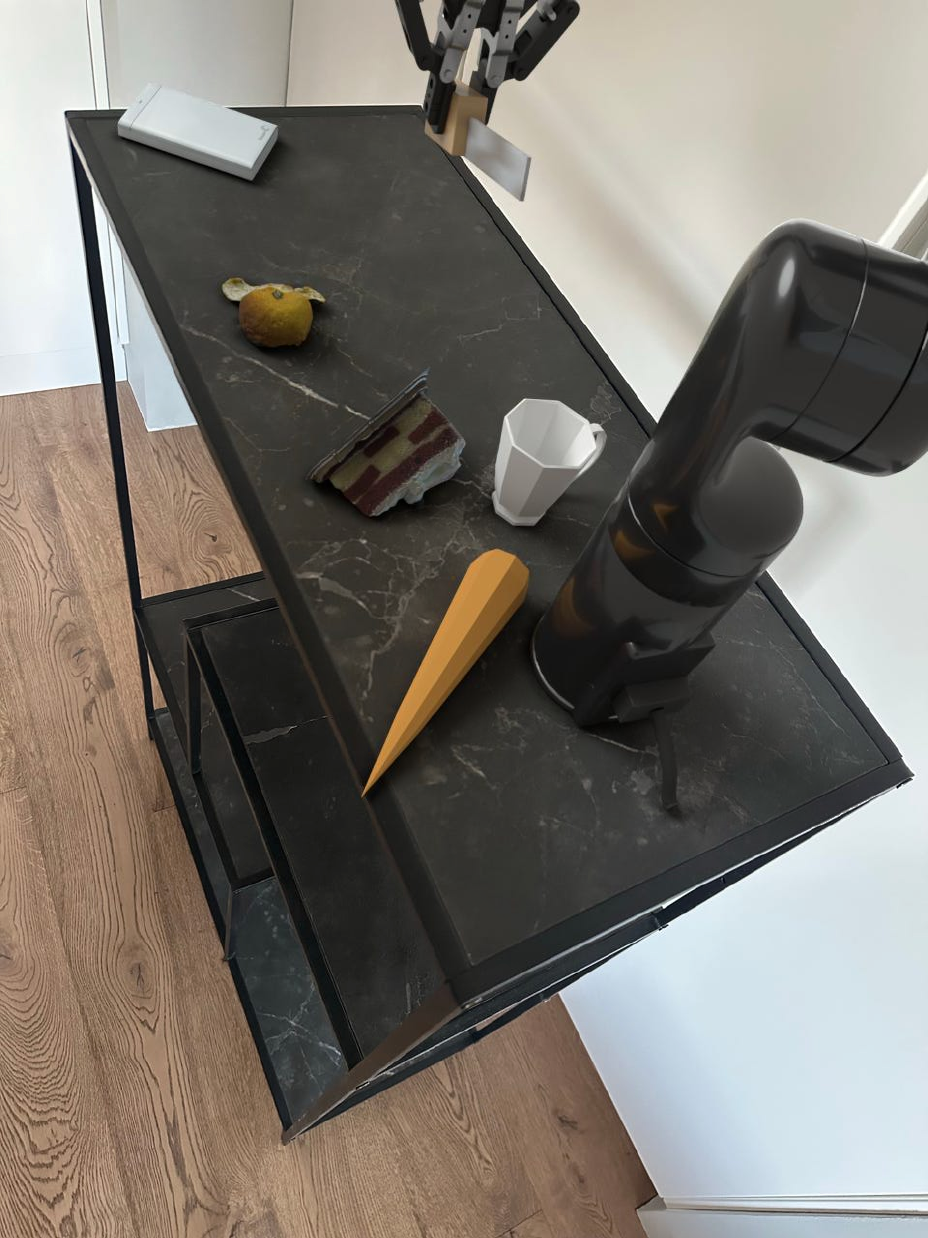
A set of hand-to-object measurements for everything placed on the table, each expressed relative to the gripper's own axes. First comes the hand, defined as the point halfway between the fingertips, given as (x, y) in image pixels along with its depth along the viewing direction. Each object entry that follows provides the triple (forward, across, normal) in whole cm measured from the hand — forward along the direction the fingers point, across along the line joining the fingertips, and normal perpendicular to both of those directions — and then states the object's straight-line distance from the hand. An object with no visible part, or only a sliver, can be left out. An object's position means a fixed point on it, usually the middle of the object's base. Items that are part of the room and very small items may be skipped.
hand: (451, 128), depth 66 cm
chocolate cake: (+17, +6, +18) cm, 26 cm away
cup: (+17, -5, +21) cm, 28 cm away
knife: (-1, 0, +5) cm, 5 cm away
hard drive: (+16, +8, -21) cm, 28 cm away
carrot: (+14, +9, +35) cm, 38 cm away
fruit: (+17, +11, 0) cm, 20 cm away
